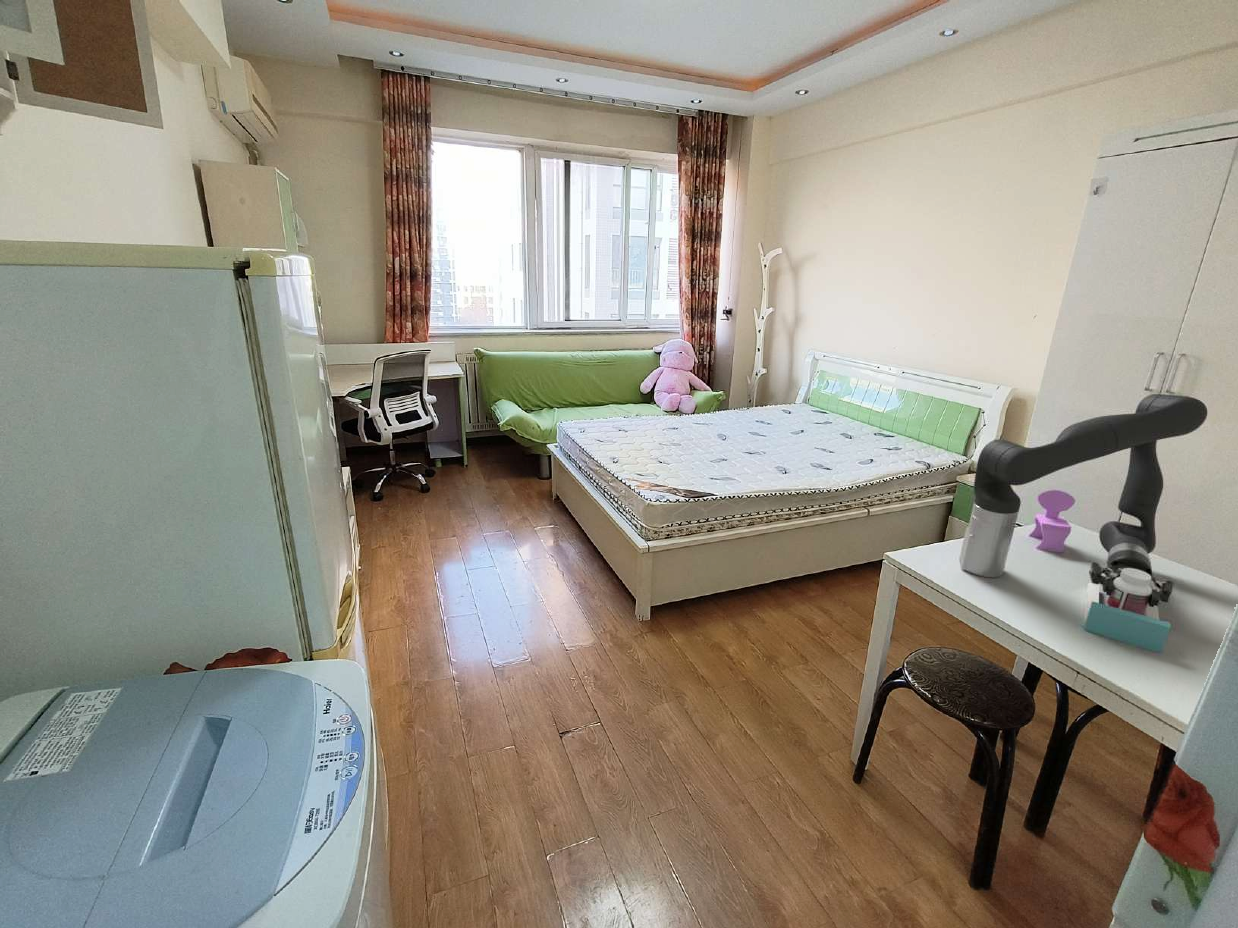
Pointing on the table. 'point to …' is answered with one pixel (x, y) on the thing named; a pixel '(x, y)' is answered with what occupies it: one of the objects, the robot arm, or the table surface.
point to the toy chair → (1053, 520)
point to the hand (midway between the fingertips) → (1131, 597)
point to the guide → (1124, 623)
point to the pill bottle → (1131, 591)
